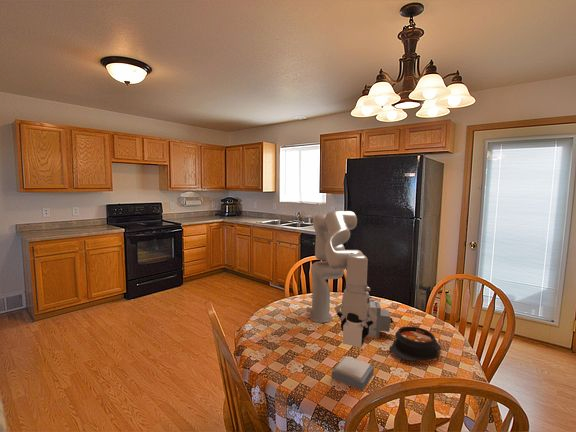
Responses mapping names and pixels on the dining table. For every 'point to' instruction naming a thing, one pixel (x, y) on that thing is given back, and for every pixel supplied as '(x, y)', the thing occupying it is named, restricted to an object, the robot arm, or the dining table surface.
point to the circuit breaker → (379, 320)
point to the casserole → (415, 344)
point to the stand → (353, 372)
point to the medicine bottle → (353, 331)
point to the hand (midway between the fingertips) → (354, 332)
